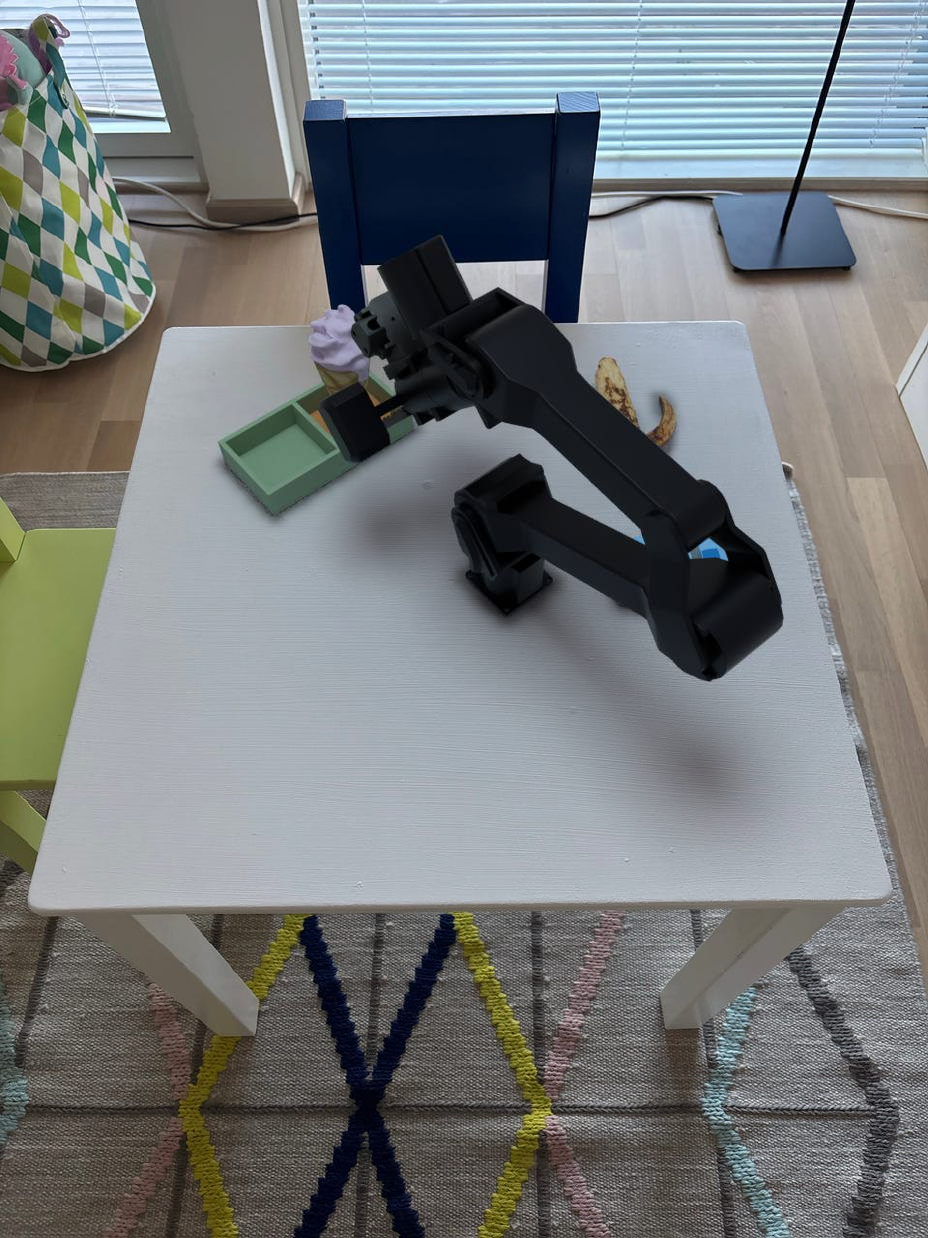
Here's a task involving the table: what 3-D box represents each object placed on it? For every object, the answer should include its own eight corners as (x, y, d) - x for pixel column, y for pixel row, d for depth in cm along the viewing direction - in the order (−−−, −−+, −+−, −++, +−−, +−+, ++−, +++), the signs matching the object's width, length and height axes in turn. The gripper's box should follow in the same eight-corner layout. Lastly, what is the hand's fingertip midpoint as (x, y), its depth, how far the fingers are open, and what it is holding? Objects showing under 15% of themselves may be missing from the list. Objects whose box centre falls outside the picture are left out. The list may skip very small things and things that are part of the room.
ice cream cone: (394, 411, 103) (382, 303, 90) (370, 450, 100) (354, 344, 87) (341, 395, 104) (321, 286, 92) (316, 433, 101) (292, 326, 89)
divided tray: (414, 429, 102) (412, 407, 99) (274, 516, 96) (267, 495, 93) (362, 382, 106) (359, 360, 103) (224, 462, 100) (217, 441, 97)
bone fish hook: (693, 490, 98) (656, 369, 107) (705, 462, 94) (664, 338, 103) (608, 497, 97) (577, 374, 106) (616, 468, 93) (583, 343, 102)
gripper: (497, 238, 77) (426, 281, 91) (312, 333, 71) (266, 364, 86) (552, 360, 81) (475, 384, 95) (379, 461, 75) (325, 470, 89)
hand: (388, 397), depth 91 cm, fingers open, 9 cm apart
